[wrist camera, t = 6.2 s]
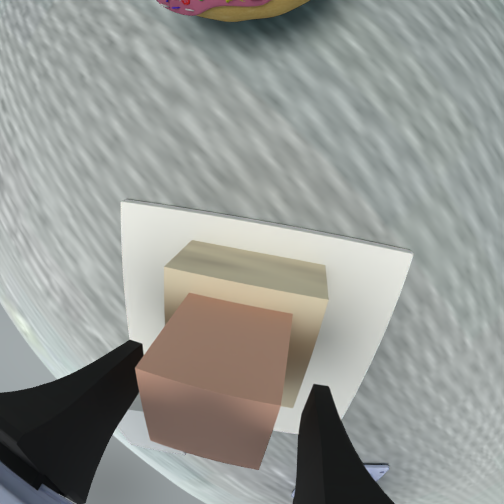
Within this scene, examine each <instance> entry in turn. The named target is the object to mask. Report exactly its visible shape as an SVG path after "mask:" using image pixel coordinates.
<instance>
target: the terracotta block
mask: <svg viewBox="0 0 504 504" xmlns="http://www.w3.org/2000/svg"><path fill="white" fill-rule="evenodd" d="M292 316H293V314H291V313H285V312H280V311H275V310H270V309H264V308H259V307H254V306H249V305H244V304H239V303H235V302H230V301H225V300H220V299H216V298H211V297H207V296H202V295H198V294H193V293H188V295H187V296H186V297H185V299H184V300H183V302H182V303H181V304H180V306H179V307H178V308H177V310H176V311H175V313H174V314H173V315H172V317H171V318H170V319H169V321H168V322H167V324H166V325H165V326H164V328H163V329H162V331H161V332H160V333H159V335H158V336H157V337H156V339H155V340H154V342H153V343H152V344H151V346H150V347H149V349H148V350H147V352H146V353H145V354H144V356H143V357H142V359H141V360H140V361H139V363H138V364H137V366H136V367H135V371H136V377H137V382H138V388H139V393H140V398H141V403H142V408H143V412H144V417H145V421H146V426H147V430H148V434H149V438H150V441H153V442H155V443H158V444H161V445H164V446H167V447H170V448H173V449H176V450H179V451H183V452H186V453H189V454H193V455H196V456H200V457H203V458H207V459H211V460H215V461H219V462H223V463H227V464H232V465H236V466H241V467H246V468H251V469H256V470H259V468H260V465H261V462H262V459H263V457H264V454H265V451H266V448H267V445H268V443H269V440H270V437H271V434H272V431H273V428H274V425H275V422H276V419H277V416H278V413H279V410H280V407H281V401H282V394H283V387H284V380H285V373H286V365H287V358H288V350H289V342H290V334H291V325H292Z"/></svg>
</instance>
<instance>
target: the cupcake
mask: <svg viewBox="0 0 504 504" xmlns="http://www.w3.org/2000/svg"><path fill="white" fill-rule="evenodd" d="M157 1H158V2H159V3H160V5H162V6H163V7H165V8H167V9H169V10H171V11H173V12H176V13H179V14H183V15H188V16H195V15H196V16H200V17H204V18H209V19H214V20H220V21H226V22H238V21H244V20H250V19H261V18H269V17H275V16H279V15H281V14H284V13H286V12H289V11H291V10H293V9H295V8H297V7H299V6H301V5H303V4H305V3H306V2H308V1H310V0H157Z"/></svg>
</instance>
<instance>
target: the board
mask: <svg viewBox="0 0 504 504" xmlns="http://www.w3.org/2000/svg"><path fill="white" fill-rule="evenodd" d="M192 240H195V241H200V242H205V243H211V244H216V245H221V246H226V247H232V248H237V249H242V250H248V251H253V252H258V253H264V254H269V255H274V256H280V257H285V258H290V259H296V260H301V261H306V262H311V263H317V264H322V265H325V268H326V277H327V287H328V298H329V301H328V304H327V308H326V311H325V314H324V318H323V321H322V324H321V328H320V331H319V334H318V337H317V340H316V343H315V347H314V350H313V353H312V356H311V359H310V362H309V365H308V368H307V371H306V374H305V376H304V379H303V382H302V385H301V388H300V391H299V393H298V396H297V399H296V401H295V404H294V407H293V408H288V407H282V406H281V407H280V410H279V413H278V416H277V419H276V422H275V425H274V428H273V431H279V432H285V433H292V434H298V433H299V426H300V419H301V413H302V411H303V409H304V406H305V404H306V401H307V399H308V396H309V394H310V391H311V389H312V386H313V384H319V385H326V386H329V388H330V390H331V394H332V397H333V400H334V403H335V406H336V408H337V411H338V414H339V416H340V419H341V420H342V418H343V416H344V414H345V413H346V411H347V409H348V407H349V405H350V404H351V402H352V400H353V398H354V396H355V394H356V392H357V390H358V388H359V386H360V384H361V383H362V381H363V379H364V377H365V374H366V372H367V370H368V368H369V366H370V364H371V362H372V360H373V358H374V356H375V353H376V351H377V349H378V347H379V345H380V342H381V340H382V338H383V335H384V333H385V331H386V328H387V326H388V323H389V321H390V319H391V316H392V314H393V311H394V309H395V306H396V303H397V301H398V298H399V295H400V293H401V290H402V287H403V284H404V282H405V279H406V276H407V273H408V270H409V267H410V264H411V261H412V258H413V253H412V252H411V250H408V249H403V248H398V247H394V246H389V245H384V244H380V243H375V242H370V241H365V240H360V239H355V238H350V237H346V236H341V235H335V234H330V233H325V232H320V231H315V230H310V229H304V228H299V227H294V226H288V225H283V224H277V223H272V222H266V221H261V220H255V219H249V218H243V217H238V216H232V215H226V214H220V213H214V212H208V211H201V210H195V209H189V208H182V207H176V206H169V205H163V204H156V203H149V202H142V201H135V200H128V199H126V200H123V201H121V243H122V264H123V280H124V293H125V304H126V313H127V322H128V331H129V338H130V340H133V341H136V342H139V343H142V344H143V353H144V354H145V353H146V352H147V350H148V349H149V347H150V346H151V344H152V343H153V342H154V340H155V339H156V337H157V336H158V335H159V333H160V332H161V331H162V329H163V328H164V326H165V314H164V266H165V265H166V264H167V263H168V262H169V261H170V260H171V259H173V258H174V257H175V256H176V255H177V254H178V253H179V252H180V251H181V250H182V249H183V248H184V247H185V246H186V245H187V244H188V243H189V242H190V241H192Z"/></svg>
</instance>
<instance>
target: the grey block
mask: <svg viewBox="0 0 504 504" xmlns="http://www.w3.org/2000/svg"><path fill="white" fill-rule="evenodd" d="M117 427H118V429H119V430H120V431H121V433H122V434H123V435H124V436H125V438H126V439H127V440H128V441H129V443H130V444H131V445H134V446H139V447H143V448H148V449H153V450H158V451H163V452H169V453H175V454H181V455H186V452H183V451H179V450H176V449H173V448H170V447H167V446H164V445H161V444H158V443H155V442H153V441H150V438H149V434H148V430H147V426H146V421H145V417H144V412H143V408H142V403H141V398H140V393H138V395H137V397H136V398H135V400H134V402H133V403H132V405H131V406H130V408H129V409H128V411H127V412H126V414H125V415H124V417H123V418H122V420H121V422H120V423H119V425H118V426H117Z"/></svg>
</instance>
